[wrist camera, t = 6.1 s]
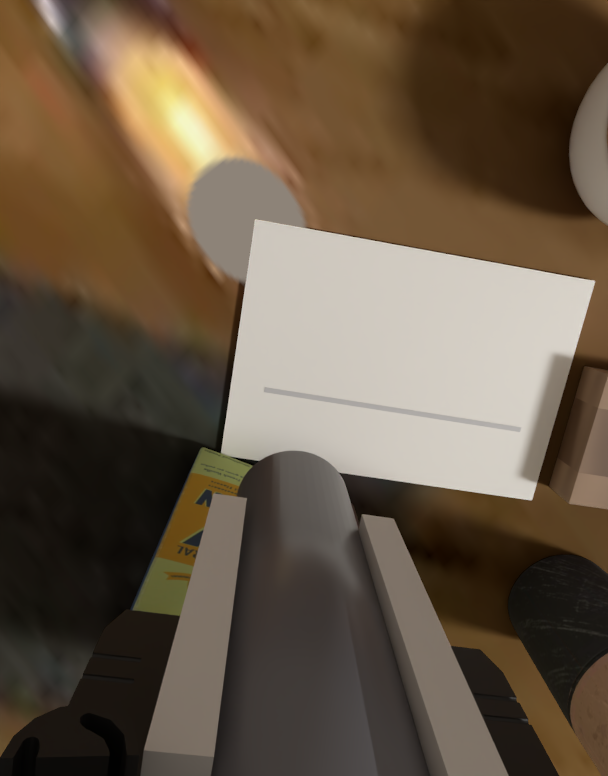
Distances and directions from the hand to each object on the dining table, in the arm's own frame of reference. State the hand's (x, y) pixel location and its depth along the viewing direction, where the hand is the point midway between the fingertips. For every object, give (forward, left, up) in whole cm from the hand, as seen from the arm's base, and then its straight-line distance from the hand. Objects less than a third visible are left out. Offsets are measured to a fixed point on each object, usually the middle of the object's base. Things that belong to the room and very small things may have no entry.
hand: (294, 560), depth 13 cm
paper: (+7, +2, -20) cm, 22 cm away
